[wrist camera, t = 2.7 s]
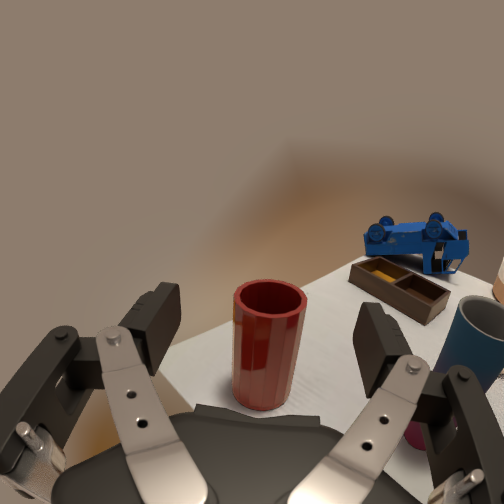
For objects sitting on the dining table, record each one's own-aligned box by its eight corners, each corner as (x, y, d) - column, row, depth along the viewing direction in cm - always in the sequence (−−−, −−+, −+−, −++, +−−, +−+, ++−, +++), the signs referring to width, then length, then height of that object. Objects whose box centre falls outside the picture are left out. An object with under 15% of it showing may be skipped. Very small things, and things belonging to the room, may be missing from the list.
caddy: (375, 270, 59) (379, 255, 57) (445, 308, 45) (451, 291, 44) (348, 281, 54) (351, 264, 53) (424, 325, 41) (431, 307, 39)
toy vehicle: (374, 216, 73) (379, 260, 75) (361, 225, 64) (367, 275, 67) (465, 209, 57) (467, 257, 59) (467, 218, 48) (469, 274, 50)
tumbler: (300, 395, 29) (322, 303, 24) (252, 419, 26) (260, 326, 21) (268, 362, 34) (278, 273, 29) (222, 380, 31) (221, 288, 26)
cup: (458, 427, 22) (527, 316, 16) (431, 468, 18) (520, 354, 12) (415, 400, 27) (469, 287, 21) (384, 435, 23) (448, 314, 17)
